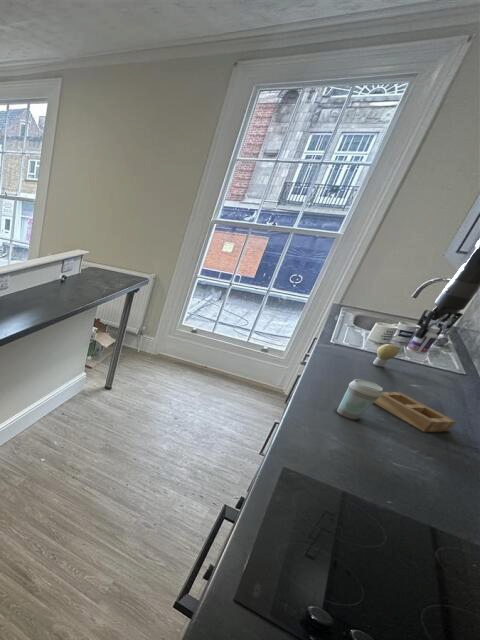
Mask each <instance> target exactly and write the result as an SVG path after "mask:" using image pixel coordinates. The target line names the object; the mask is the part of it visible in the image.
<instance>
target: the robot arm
mask: <svg viewBox="0 0 480 640" xmlns="http://www.w3.org/2000/svg"><path fill="white" fill-rule="evenodd" d="M474 249H475V250H474V251H473V252H472V254H471V255H470V257H469V258H468V260H467V261H466V262H465V263H463V264H462V265H461V266H460V268H459V269H458V270H457V271H456V273H455V275H454V276H453V277H452V279H451V280H450V281H449V282H448V283H447V284H446V285H445V287H444V288H443V289H442V291H441V293H439V295H438V296H437V298H436V299H435V301H434V304H435V305H436V306H435V307H434V308H432V310H428V309H425V310H424V311H423V312H422V314H421V316H420V318H419V320H418V322H417V324H416V326H419V327H420V328H419V329H418V330H417V332H416V333H415V335H414V337H417V338H420V339H422V338H423V337H424V336H425V335H426V333H427V332H428V331H429V330H428V329H430V328H431V327H432V326H435V327H437V328H440V330H439V332H438V333H436V334H437V335H438V337H439V336H440V334H441V333H442V332H443V331H445V330H446V329H451V328H452V327H453V326H454V325H455V324H456V323H457V322H458V320H460V319H461V317H463V316H464V313H462V312H460V311H463V310H465V309H466V307H467V306H468V304H469V303H470V302H471V301H472V300H473V298H474V296H476V294H477V293H478V291H479V289H480V239H479V240H477V241H476V243H475V244H474Z"/></svg>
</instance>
